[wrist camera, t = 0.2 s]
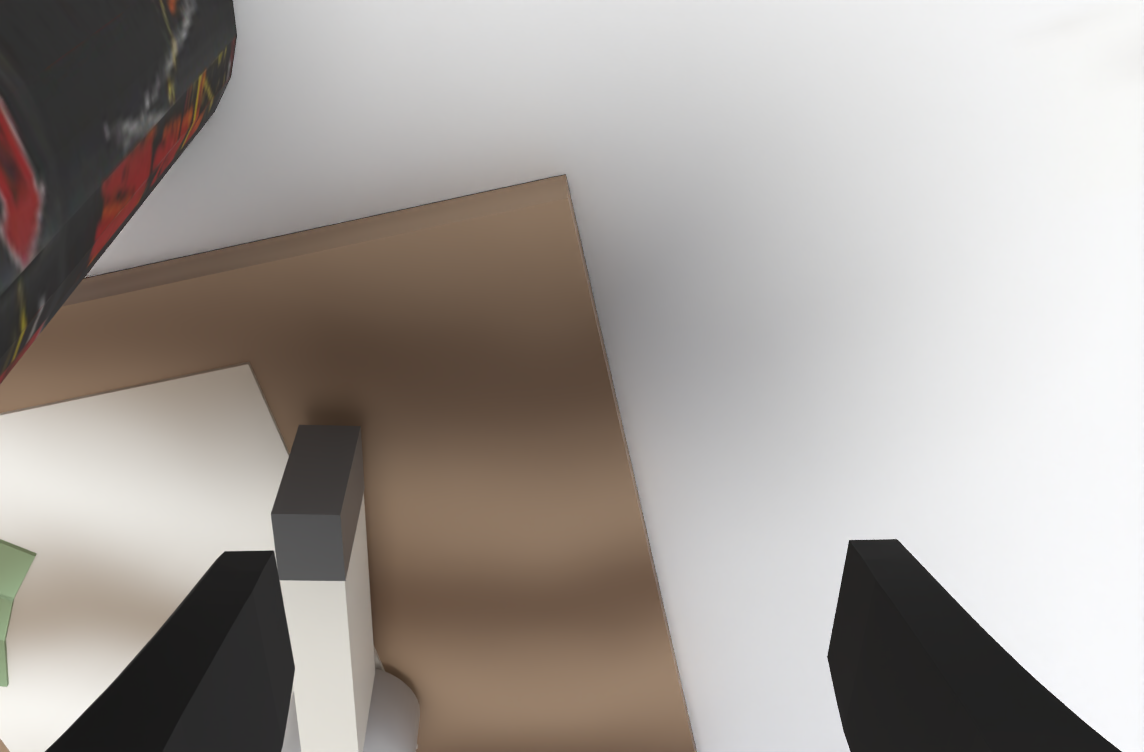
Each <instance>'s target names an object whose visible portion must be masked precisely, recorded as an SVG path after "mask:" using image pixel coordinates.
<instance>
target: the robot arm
mask: <svg viewBox="0 0 1144 752" xmlns="http://www.w3.org/2000/svg"><path fill="white" fill-rule="evenodd" d="M827 657H828V662H829V667H830V672H831V677H832V681H833V686H834V691H835V696H836V700H837V705H838V709H839V713H840V717H841V722H842V726H843V730H844V734H845V737H846V739H847V742H848V745H849V748H850V751H851V752H1121V751H1120V750H1119V749H1118V748H1116V747H1115V746H1114V745H1112V744H1111V743H1110V742H1108V741H1107V740H1106V739H1105V738H1103V737H1102V736H1101V735H1100V734H1099V733H1097V732H1096V731H1095V730H1094V729H1092V728H1091V727H1090V726H1089V725H1088V724H1086V723H1085V722H1084V721H1083V720H1082V719H1080V718H1079V717H1078V716H1077V715H1076V714H1075V713H1073V712H1072V711H1071V710H1070V709H1069V708H1068V707H1067V706H1065V705H1064V704H1063V703H1062V702H1061V701H1060V700H1059V699H1057V698H1056V697H1055V696H1054V695H1053V694H1052V693H1051V692H1049V691H1048V690H1047V689H1046V688H1045V687H1044V686H1043V685H1041V684H1040V683H1039V682H1038V681H1037V680H1036V679H1035V678H1034V677H1033V676H1032V675H1031V674H1030V673H1028V672H1027V671H1026V670H1025V669H1024V668H1023V667H1022V666H1021V665H1020V664H1019V663H1018V662H1017V661H1016V660H1015V659H1014V658H1013V657H1012V656H1011V655H1010V654H1009V653H1007V652H1006V651H1005V650H1004V649H1003V648H1002V647H1001V646H1000V645H999V644H998V643H997V642H996V641H995V640H994V639H993V638H992V637H991V636H990V635H989V634H988V633H987V632H986V631H985V630H984V629H983V628H982V627H981V626H980V625H979V624H978V623H977V622H976V621H975V620H974V619H973V618H972V617H971V616H970V615H969V614H968V613H967V612H966V611H965V610H964V609H963V608H962V607H961V606H960V605H959V603H958V602H957V601H956V600H955V599H954V598H953V597H952V596H951V595H950V594H949V593H948V592H947V591H946V590H945V589H944V588H943V587H942V586H941V585H940V584H939V583H938V582H937V581H936V579H935V578H934V577H933V576H932V575H931V574H930V573H929V572H928V571H927V570H926V569H925V568H924V567H923V566H922V565H921V564H920V563H919V562H918V561H917V560H916V558H915V557H914V556H913V555H912V554H911V553H910V552H909V551H908V550H907V549H906V548H905V547H904V546H903V545H902V544H901V543H900V542H899V541H898V540H897V539H889V540H849V544H848V549H847V555H846V560H845V565H844V571H843V576H842V581H841V587H840V592H839V597H838V603H837V608H836V613H835V619H834V624H833V629H832V635H831V640H830V645H829V651H828V656H827ZM294 673H295V664H294V659H293V653H292V648H291V642H290V636H289V631H288V625H287V620H286V614H285V609H284V603H283V597H282V592H281V586H280V581H279V575H278V569H277V564H276V558H275V553H274V550H268V551H224V552H223V553H222V554H221V555H220V556H219V557H218V558H217V559H216V560H215V562H214V563H213V564H212V565H211V566H210V568H209V569H208V570H207V571H206V573H205V574H204V575H203V576H202V578H201V579H200V580H199V581H198V583H197V584H196V585H195V586H194V588H193V589H192V590H191V591H190V592H189V594H188V595H187V596H186V597H185V599H184V600H183V601H182V602H181V604H180V605H179V606H178V607H177V608H176V610H175V611H174V612H173V613H172V614H171V616H170V617H169V618H168V619H167V620H166V622H165V623H164V624H163V625H162V626H161V628H160V629H159V630H158V631H157V632H156V634H155V635H154V636H153V637H152V638H151V639H150V640H149V642H148V643H147V644H146V645H145V646H144V647H143V648H142V649H141V651H140V652H139V653H138V654H137V655H136V656H135V657H134V659H133V660H132V661H131V662H130V663H129V664H128V665H127V667H126V668H125V669H124V670H123V671H122V672H121V673H120V675H119V676H118V677H117V678H116V679H115V680H114V681H113V682H112V683H111V684H110V685H109V687H108V688H107V689H106V690H105V691H104V692H103V693H102V694H101V695H100V696H99V697H98V698H97V699H96V700H95V701H94V702H93V703H92V704H91V705H90V706H89V707H88V708H87V709H86V710H85V711H84V712H83V714H82V715H81V716H80V717H79V718H78V719H77V720H76V721H75V722H74V723H73V724H72V725H71V726H70V727H69V728H68V729H67V730H66V731H65V732H64V733H63V734H62V735H61V736H60V737H59V738H58V739H57V740H56V741H55V742H54V743H53V744H52V745H51V746H50V747H49V748H48V749H47V750H46V751H45V752H281V751H282V747H283V742H284V736H285V730H286V724H287V718H288V713H289V706H290V699H291V693H292V686H293V680H294Z"/></svg>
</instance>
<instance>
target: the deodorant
mask: <svg viewBox="0 0 1144 752" xmlns="http://www.w3.org/2000/svg"><path fill="white" fill-rule="evenodd" d="M236 38H237V33H236V25H235V17H234V9H233V1H232V0H0V384H1V383H2V381H3V380H4V379H5V378H6V376H7V375H8V374H9V373H10V371H11V370H12V369H13V367H14V366H15V365H16V364H17V362H18V361H19V360H20V359H21V357H22V356H23V355H24V353H25V352H26V351H27V350H28V348H29V347H30V346H31V345H32V343H33V342H34V341H35V340H36V338H37V337H38V336H39V334H40V333H41V332H42V331H43V329H44V328H45V327H46V326H47V324H48V323H49V322H50V320H51V319H52V318H53V317H54V315H55V314H56V313H57V312H58V310H59V309H60V308H61V306H62V305H63V304H64V303H65V301H66V300H67V299H68V298H69V296H70V295H71V294H72V292H73V291H74V290H75V289H76V287H77V286H78V285H79V284H80V282H81V281H82V280H83V278H84V277H85V276H86V275H87V273H88V272H89V271H90V270H91V268H92V267H93V266H94V264H95V263H96V262H97V261H98V259H99V258H100V257H101V256H102V254H103V253H104V252H105V250H106V249H107V248H108V247H109V245H110V244H111V243H112V242H113V240H114V239H115V238H116V236H117V235H118V234H119V233H120V231H121V230H122V229H123V228H124V226H125V225H126V224H127V222H128V221H129V220H130V219H131V217H132V216H133V215H134V214H135V212H136V211H137V210H138V209H139V207H140V206H141V205H142V203H143V202H144V201H145V200H146V198H147V197H148V196H149V195H150V193H151V192H152V191H153V189H154V188H155V187H156V186H157V184H158V183H159V182H160V181H161V179H162V178H163V177H164V175H165V174H166V173H167V172H168V170H169V169H170V168H171V167H172V165H173V164H174V163H175V161H176V160H177V159H178V158H179V156H180V155H181V154H182V153H183V151H184V150H185V149H186V147H187V146H188V145H189V144H190V142H191V141H192V140H193V139H194V137H195V136H196V135H197V133H198V132H199V131H200V130H201V128H202V127H203V126H204V125H205V123H206V122H207V121H208V119H209V118H210V117H211V116H212V114H213V113H214V112H215V110H216V108H217V105H218V103H219V101H220V99H221V97H222V95H223V93H224V90H225V88H226V86H227V84H228V82H229V80H230V77H231V72H232V66H233V59H234V52H235V45H236Z"/></svg>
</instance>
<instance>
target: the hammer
mask: <svg viewBox="0 0 1144 752" xmlns="http://www.w3.org/2000/svg"><path fill="white" fill-rule="evenodd" d="M364 489H365V486H364V471H363V455H362V439H361V426H335V425H299V426H298V429H297V433H296V436H295V439H294V442H293V445H292V448H291V452H290V455H289V458H288V461H287V464H286V467H285V470H284V474H283V477H282V480H281V483H280V486H279V489H278V492H277V496H276V499H275V502H274V505H273V508H272V511H271V520H272V528H273V536H274V545H275V553H276V561H277V569H278V575H279V580H280V582H281V590H282V597H283V603H284V609H285V614H286V620H287V625H288V631H289V636H290V642H291V648H292V653H293V659H294V664H295V673H294V680H293V688H294V693H293V695H292V697H291V701H290V706H289V713H288V718H287V724H286V730H285V736H284V742H283V747H282V751H281V752H416V747H417V737H418V727H419V718H420V707H419V703H418V700H417V698H416V696H415V694H414V693H413V691H412V690H411V689H410V688H409V687H408V686H407V685H406V684H405V683H404V682H403V681H401V680H400V679H399V678H397V677H395V676H394V675H392V674H390V673H387V672H385V671H382V670H379V669H376V668H375V661H374V646H373V630H372V614H371V598H370V583H369V567H368V551H367V535H366V520H365V504H364Z"/></svg>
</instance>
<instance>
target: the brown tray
mask: <svg viewBox="0 0 1144 752" xmlns="http://www.w3.org/2000/svg"><path fill="white" fill-rule="evenodd" d="M299 425H335V426H361V439H362V455H363V471H364V486H365V489H364V504H365V520H366V535H367V551H368V567H369V583H370V598H371V614H372V630H373V646H374V661H375V668H376V669H379V670H382V671H385V672H387V673H390V674H392V675H394V676H395V677H397V678H399V679H400V680H401V681H403V682H404V683H405V684H406V685H407V686H408V687H409V688H410V689H411V690H412V691H413V693H414V694H415V696H416V698H417V700H418V703H419V707H420V718H419V727H418V737H417V747H416V752H697V751H696V746H695V742H694V737H693V733H692V729H691V724H690V720H689V715H688V711H687V707H686V702H685V698H684V693H683V689H682V685H681V680H680V676H679V671H678V667H677V663H676V658H675V654H674V649H673V645H672V641H671V636H670V632H669V627H668V623H667V619H666V614H665V610H664V605H663V601H662V597H661V592H660V588H659V583H658V579H657V575H656V570H655V566H654V561H653V557H652V553H651V548H650V544H649V539H648V535H647V531H646V526H645V522H644V517H643V513H642V509H641V504H640V500H639V495H638V491H637V487H636V482H635V478H634V473H633V469H632V465H631V460H630V456H629V451H628V447H627V442H626V438H625V434H624V429H623V425H622V420H621V416H620V412H619V407H618V403H617V398H616V394H615V390H614V385H613V381H612V376H611V372H610V368H609V363H608V359H607V354H606V350H605V346H604V341H603V337H602V332H601V328H600V324H599V319H598V315H597V310H596V306H595V302H594V297H593V293H592V288H591V284H590V280H589V275H588V271H587V266H586V262H585V258H584V253H583V249H582V244H581V240H580V236H579V231H578V227H577V222H576V218H575V214H574V209H573V205H572V200H571V196H570V192H569V187H568V183H567V178H566V175H561V176H557V177H552V178H547V179H543V180H538V181H534V182H529V183H524V184H520V185H515V186H510V187H506V188H501V189H497V190H492V191H487V192H483V193H478V194H473V195H469V196H464V197H460V198H455V199H450V200H446V201H441V202H436V203H432V204H427V205H423V206H418V207H413V208H409V209H404V210H399V211H395V212H390V213H386V214H381V215H376V216H372V217H367V218H362V219H358V220H353V221H349V222H344V223H339V224H335V225H330V226H325V227H321V228H316V229H312V230H307V231H302V232H298V233H293V234H288V235H284V236H279V237H274V238H270V239H265V240H261V241H256V242H251V243H247V244H242V245H237V246H233V247H228V248H224V249H219V250H214V251H210V252H205V253H200V254H196V255H191V256H187V257H182V258H177V259H173V260H168V261H163V262H159V263H154V264H150V265H145V266H140V267H136V268H131V269H126V270H122V271H117V272H113V273H108V274H103V275H99V276H94V277H89V278H85V279H83V280H82V281H81V282H80V284H79V285H78V286H77V287H76V289H75V290H74V291H73V292H72V294H71V295H70V296H69V298H68V299H67V300H66V301H65V303H64V304H63V305H62V306H61V308H60V309H59V310H58V312H57V313H56V314H55V315H54V317H53V318H52V319H51V320H50V322H49V323H48V324H47V326H46V327H45V328H44V329H43V331H42V332H41V333H40V334H39V336H38V337H37V338H36V340H35V341H34V342H33V343H32V345H31V346H30V347H29V348H28V350H27V351H26V352H25V353H24V355H23V356H22V357H21V359H20V360H19V361H18V362H17V364H16V365H15V366H14V367H13V369H12V370H11V371H10V373H9V374H8V375H7V376H6V378H5V379H4V380H3V381H2V383H1V384H0V752H45V751H46V750H47V749H48V748H49V747H50V746H51V745H52V744H53V743H54V742H55V741H56V740H57V739H58V738H59V737H60V736H61V735H62V734H63V733H64V732H65V731H66V730H67V729H68V728H69V727H70V726H71V725H72V724H73V723H74V722H75V721H76V720H77V719H78V718H79V717H80V716H81V715H82V714H83V712H84V711H85V710H86V709H87V708H88V707H89V706H90V705H91V704H92V703H93V702H94V701H95V700H96V699H97V698H98V697H99V696H100V695H101V694H102V693H103V692H104V691H105V690H106V689H107V688H108V687H109V685H110V684H111V683H112V682H113V681H114V680H115V679H116V678H117V677H118V676H119V675H120V673H121V672H122V671H123V670H124V669H125V668H126V667H127V665H128V664H129V663H130V662H131V661H132V660H133V659H134V657H135V656H136V655H137V654H138V653H139V652H140V651H141V649H142V648H143V647H144V646H145V645H146V644H147V643H148V642H149V640H150V639H151V638H152V637H153V636H154V635H155V634H156V632H157V631H158V630H159V629H160V628H161V626H162V625H163V624H164V623H165V622H166V620H167V619H168V618H169V617H170V616H171V614H172V613H173V612H174V611H175V610H176V608H177V607H178V606H179V605H180V604H181V602H182V601H183V600H184V599H185V597H186V596H187V595H188V594H189V592H190V591H191V590H192V589H193V588H194V586H195V585H196V584H197V583H198V581H199V580H200V579H201V578H202V576H203V575H204V574H205V573H206V571H207V570H208V569H209V568H210V566H211V565H212V564H213V563H214V562H215V560H216V559H217V558H218V557H219V556H220V555H221V554H222V553H223V552H224V551H268V550H274V553H275V545H274V536H273V528H272V520H271V511H272V508H273V505H274V502H275V499H276V496H277V492H278V489H279V486H280V483H281V480H282V477H283V474H284V470H285V467H286V464H287V461H288V458H289V455H290V452H291V448H292V445H293V442H294V439H295V436H296V433H297V429H298V426H299ZM275 558H276V553H275ZM276 564H277V561H276ZM279 581H280V580H279ZM280 586H281V582H280ZM281 592H282V590H281ZM293 693H294V688H293V686H292V693H291V697H292V695H293ZM290 701H291V699H290Z"/></svg>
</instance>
